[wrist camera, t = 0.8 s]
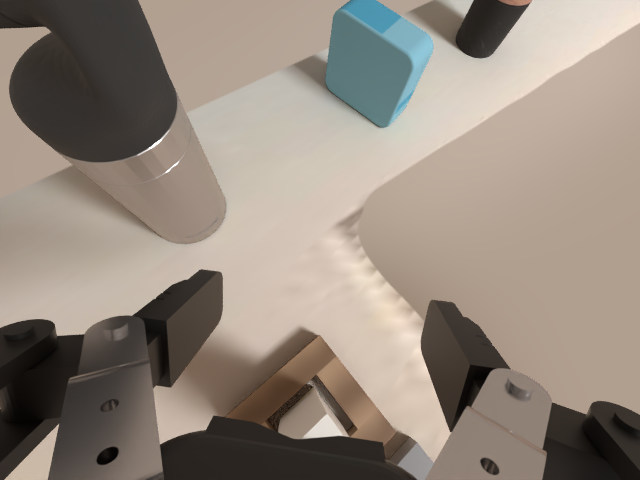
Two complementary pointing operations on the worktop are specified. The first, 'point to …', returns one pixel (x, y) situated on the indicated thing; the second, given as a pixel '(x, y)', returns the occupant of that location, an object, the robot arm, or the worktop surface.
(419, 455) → the port plate
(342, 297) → the worktop surface
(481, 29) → the travel mug
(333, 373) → the brown square frame
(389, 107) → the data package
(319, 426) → the plug
